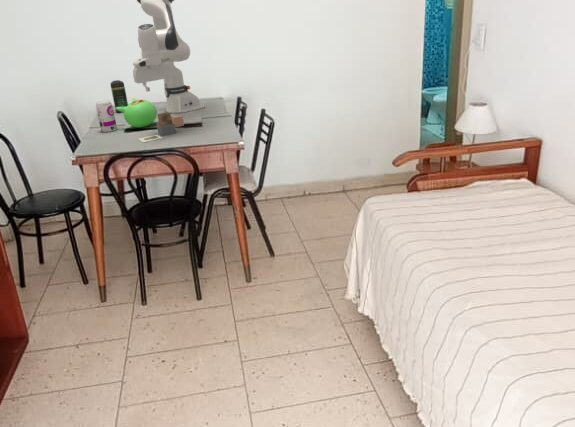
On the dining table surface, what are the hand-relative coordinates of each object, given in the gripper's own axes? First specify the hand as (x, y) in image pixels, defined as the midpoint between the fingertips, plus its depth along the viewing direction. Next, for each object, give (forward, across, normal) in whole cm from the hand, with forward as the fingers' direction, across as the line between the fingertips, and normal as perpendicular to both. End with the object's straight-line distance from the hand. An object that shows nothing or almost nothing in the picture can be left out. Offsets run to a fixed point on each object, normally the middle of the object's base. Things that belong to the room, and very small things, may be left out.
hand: (157, 89), depth 255 cm
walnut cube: (+17, 0, +3) cm, 17 cm away
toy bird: (+22, +5, -22) cm, 32 cm away
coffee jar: (+22, +1, -71) cm, 75 cm away
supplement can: (+22, +21, -28) cm, 41 cm away
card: (+21, +10, +7) cm, 25 cm away
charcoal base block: (+22, 0, +3) cm, 22 cm away
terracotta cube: (+22, -10, -8) cm, 25 cm away
